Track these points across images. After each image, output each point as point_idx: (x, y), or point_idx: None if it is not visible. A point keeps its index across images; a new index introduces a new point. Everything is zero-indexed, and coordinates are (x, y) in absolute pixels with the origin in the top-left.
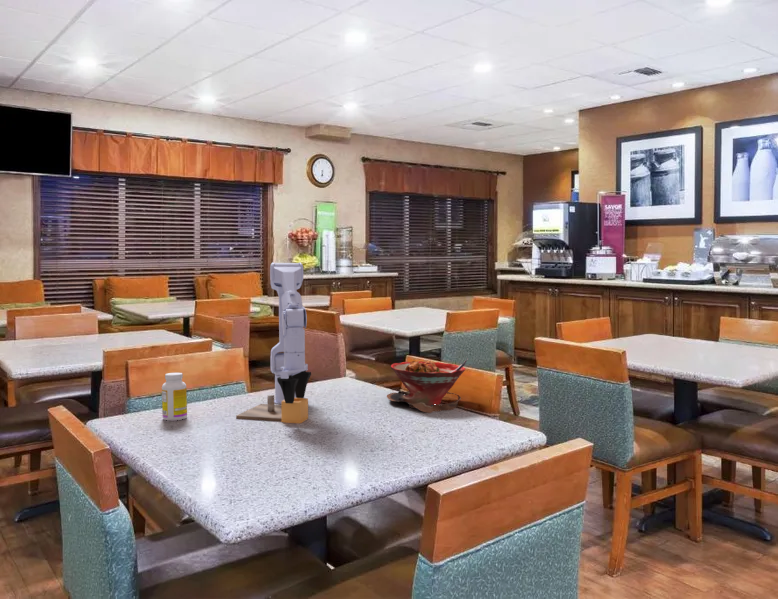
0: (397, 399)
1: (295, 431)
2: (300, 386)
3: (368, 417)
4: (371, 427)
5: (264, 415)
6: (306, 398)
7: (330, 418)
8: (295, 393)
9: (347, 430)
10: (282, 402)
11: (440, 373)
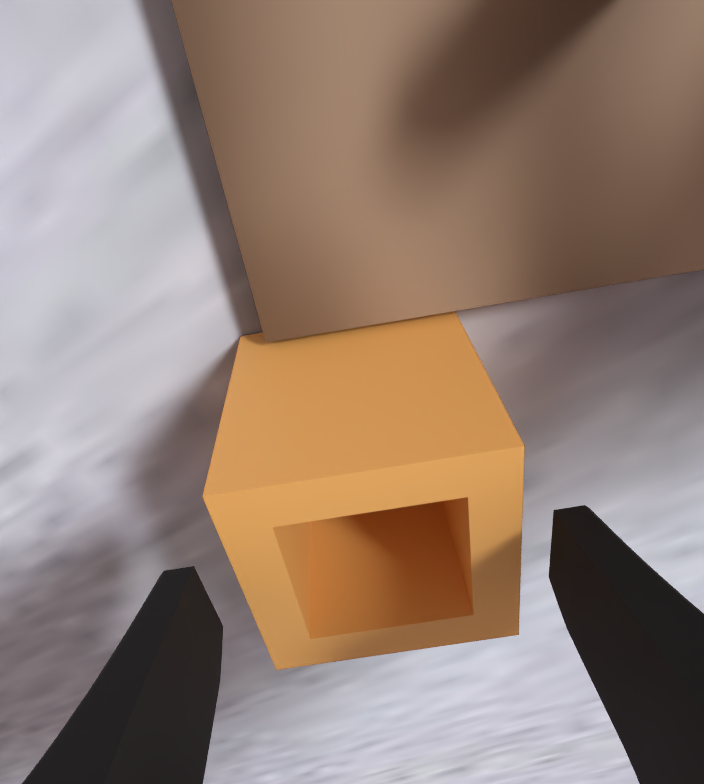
0: None
1: (83, 555)
2: (641, 717)
3: None
4: (399, 755)
5: (299, 20)
6: (505, 628)
7: (540, 561)
8: (581, 549)
9: (290, 718)
10: (208, 498)
11: None
